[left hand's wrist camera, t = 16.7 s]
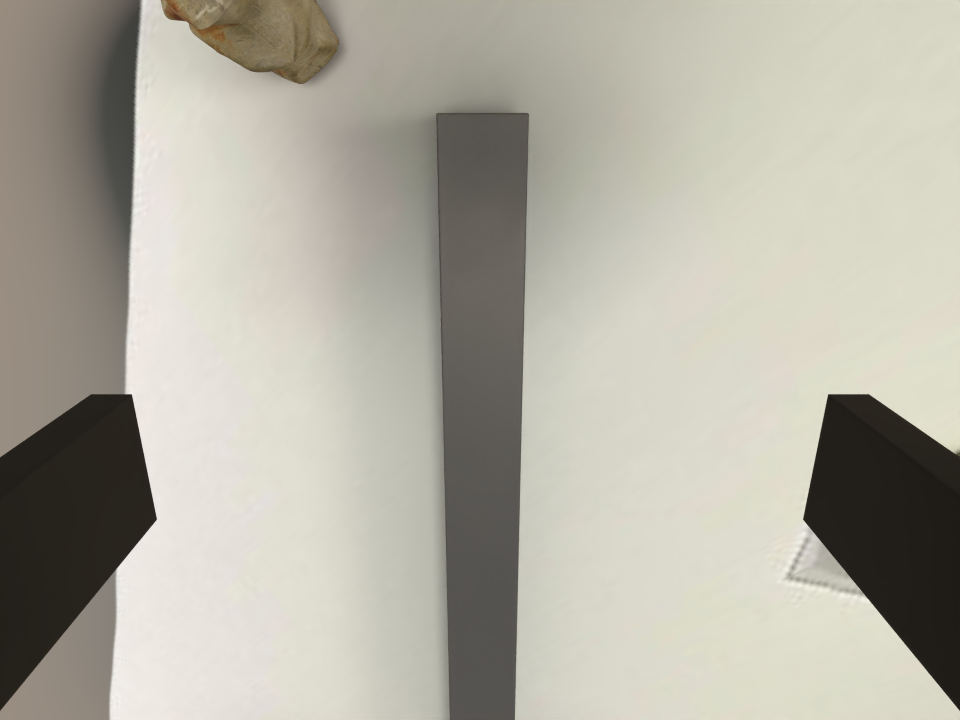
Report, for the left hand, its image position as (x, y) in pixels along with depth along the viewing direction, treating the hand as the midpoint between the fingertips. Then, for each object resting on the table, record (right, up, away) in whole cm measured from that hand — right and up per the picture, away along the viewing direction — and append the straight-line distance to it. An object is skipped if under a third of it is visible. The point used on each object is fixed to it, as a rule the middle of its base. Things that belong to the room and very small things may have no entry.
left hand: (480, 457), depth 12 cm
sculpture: (-12, +23, +28) cm, 38 cm away
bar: (0, -19, +43) cm, 47 cm away
